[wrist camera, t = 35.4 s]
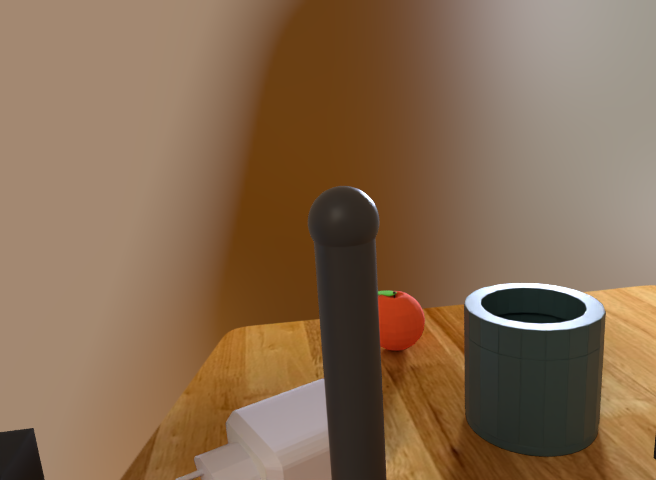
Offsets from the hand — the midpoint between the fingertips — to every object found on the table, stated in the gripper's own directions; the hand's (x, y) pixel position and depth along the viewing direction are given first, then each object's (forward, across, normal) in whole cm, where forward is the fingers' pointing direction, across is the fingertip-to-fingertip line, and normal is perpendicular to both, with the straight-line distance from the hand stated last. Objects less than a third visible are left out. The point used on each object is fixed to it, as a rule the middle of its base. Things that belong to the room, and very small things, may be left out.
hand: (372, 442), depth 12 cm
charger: (+29, -3, -22) cm, 37 cm away
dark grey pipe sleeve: (+32, +21, -22) cm, 44 cm away
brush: (+13, +2, -22) cm, 25 cm away
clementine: (+50, +12, -22) cm, 56 cm away
